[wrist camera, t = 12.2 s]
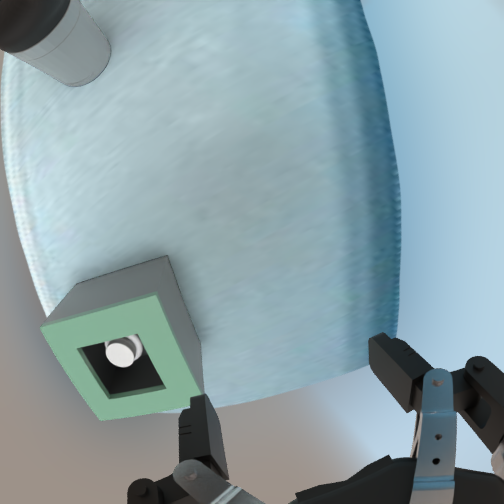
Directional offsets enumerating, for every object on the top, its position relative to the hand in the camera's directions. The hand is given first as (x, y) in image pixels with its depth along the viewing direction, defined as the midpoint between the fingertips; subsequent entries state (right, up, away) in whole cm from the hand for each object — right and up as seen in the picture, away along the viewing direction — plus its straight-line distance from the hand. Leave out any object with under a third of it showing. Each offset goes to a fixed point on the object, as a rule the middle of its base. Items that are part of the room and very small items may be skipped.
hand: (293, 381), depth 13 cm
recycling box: (-20, -4, +31) cm, 37 cm away
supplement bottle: (-20, -4, +31) cm, 37 cm away
